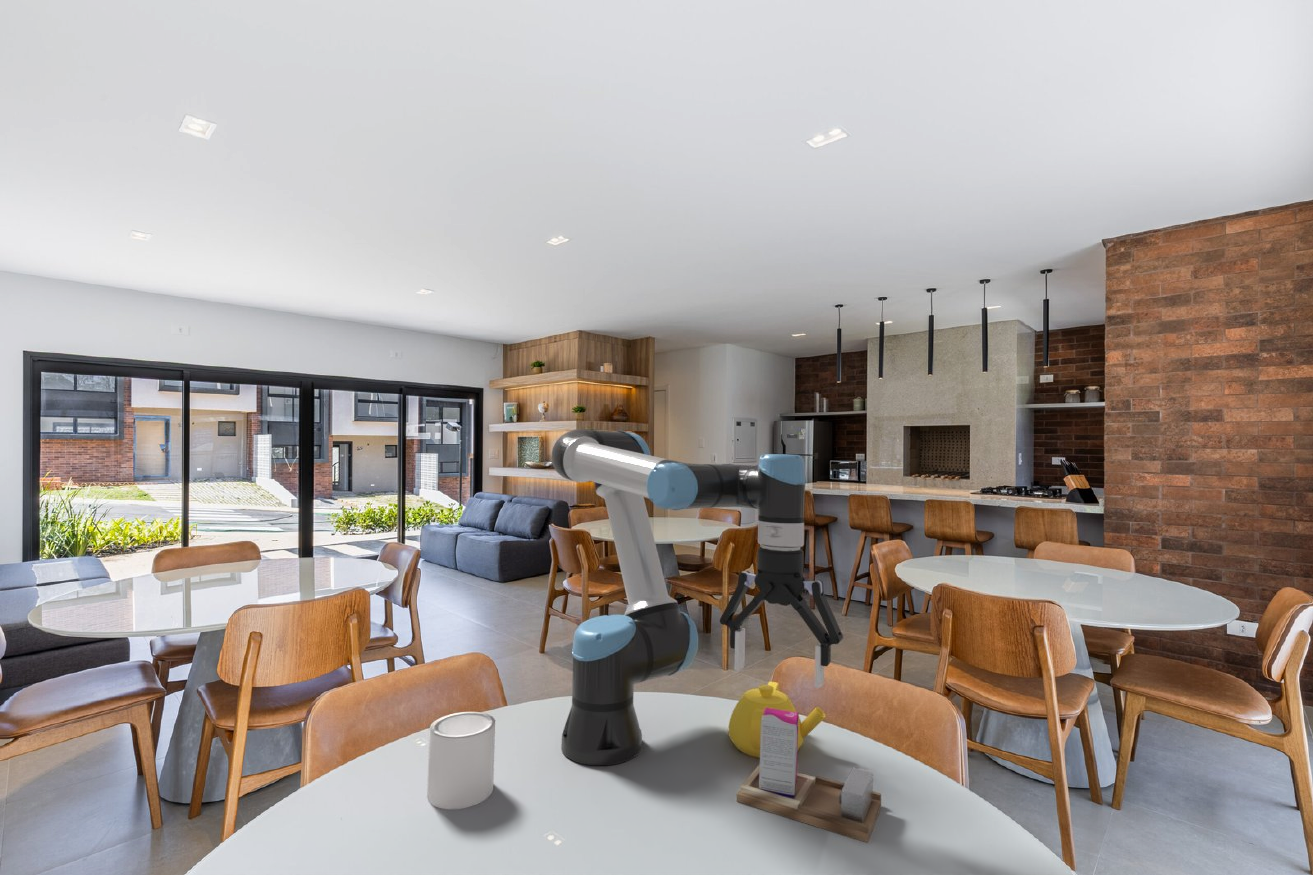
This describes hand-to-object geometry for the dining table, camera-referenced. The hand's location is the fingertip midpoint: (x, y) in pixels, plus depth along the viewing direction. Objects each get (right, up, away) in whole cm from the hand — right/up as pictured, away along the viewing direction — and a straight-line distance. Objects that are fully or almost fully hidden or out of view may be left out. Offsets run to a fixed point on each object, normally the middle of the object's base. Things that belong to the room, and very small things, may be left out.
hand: (778, 676), depth 100 cm
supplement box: (0, -18, -1) cm, 18 cm away
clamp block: (+10, -17, -7) cm, 21 cm away
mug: (-52, -18, -1) cm, 55 cm away
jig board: (+4, -19, -4) cm, 19 cm away
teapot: (+3, -20, +16) cm, 26 cm away
